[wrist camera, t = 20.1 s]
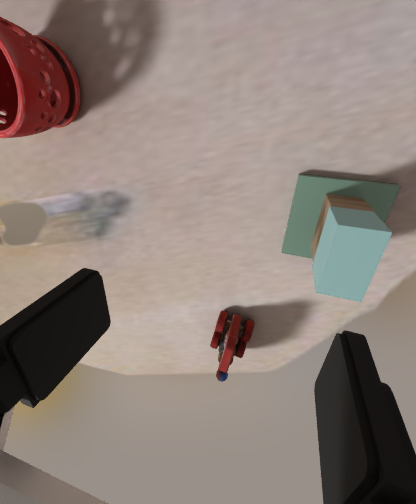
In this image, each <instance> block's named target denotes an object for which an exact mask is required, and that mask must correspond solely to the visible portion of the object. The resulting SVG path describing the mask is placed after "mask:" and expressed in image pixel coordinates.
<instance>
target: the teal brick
mask: <svg viewBox="0 0 416 504" xmlns="http://www.w3.org/2000/svg"><path fill="white" fill-rule="evenodd" d="M391 235H392V231H391V230H390V229H389V228H388V227H387V226H386V225H385V224H384V223H383V222H382V220H381V219H380V218H379V217H378V216H377V215H376V214H375V213H374V212H372V211H364V210H356V209H348V208H340V207H332V206H330V207H329V210H328V213H327V217H326V220H325V223H324V227H323V230H322V234H321V237H320V240H319V244H318V247H317V251H316V254H315V257H314V261H313V264H312V269H313V276H314V283H315V290H316V293H320V294H325V295H329V296H334V297H339V298H344V299H349V300H354V301H359V302H361V301H362V299H363V297H364V295H365V293H366V290H367V288H368V286H369V284H370V281H371V279H372V277H373V275H374V272H375V270H376V268H377V266H378V264H379V261H380V259H381V257H382V255H383V252H384V250H385V248H386V246H387V244H388V241H389V239H390V237H391Z"/></svg>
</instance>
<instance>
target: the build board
mask: <svg viewBox="0 0 416 504" xmlns="http://www.w3.org/2000/svg"><path fill="white" fill-rule="evenodd" d="M399 189H400V186H399V185H398V184H391V183H381V182H372V181H362V180H353V179H343V178H334V177H324V176H315V175H305V174H299V176H298V180H297V185H296V189H295V194H294V198H293V202H292V207H291V211H290V216H289V220H288V225H287V229H286V234H285V238H284V242H283V247H282V253H285V254H290V255H296V256H301V257H307V258H312V251H311V243H312V240H313V236H314V233H315V229H316V226H317V222H318V219H319V215H320V212H321V208H322V205H323V201H324V198H325V194H333V195H341V196H350V197H358V198H363V199H364V200H365V201H366V202H367V203H368V205H369V206H370V207H371V208H372V209H373V210H374V211H375V212H376V213H375V214H376V215H377V216H378V217H379V218H380V219H381V220H382V222H383V223H385V221H386V219H387V216H388V214H389V212H390V209H391V207H392V205H393V203H394V200H395V198H396V196H397V193H398V191H399ZM312 259H313V258H312Z"/></svg>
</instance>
